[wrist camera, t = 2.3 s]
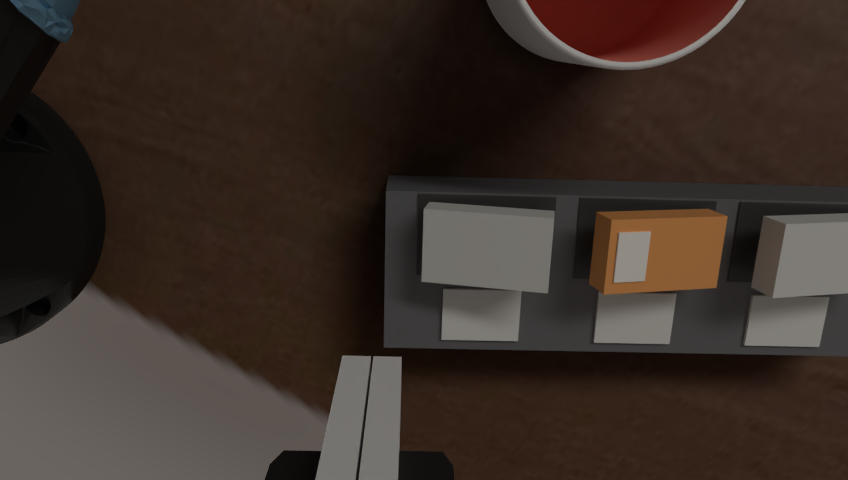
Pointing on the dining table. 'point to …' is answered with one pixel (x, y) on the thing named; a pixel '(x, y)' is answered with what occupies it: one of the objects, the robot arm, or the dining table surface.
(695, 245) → the block
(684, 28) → the cup
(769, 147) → the dining table surface
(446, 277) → the block
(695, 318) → the switch panel
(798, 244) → the rocker
